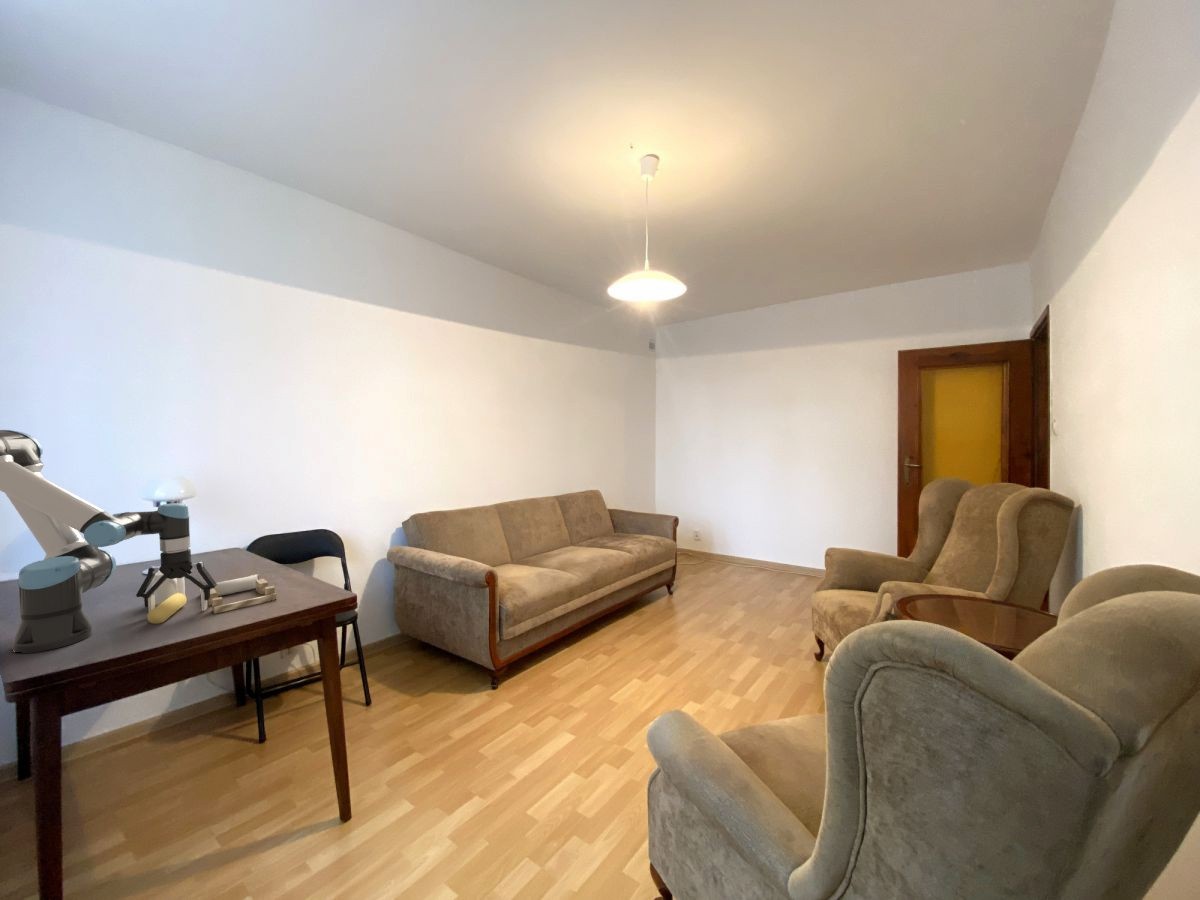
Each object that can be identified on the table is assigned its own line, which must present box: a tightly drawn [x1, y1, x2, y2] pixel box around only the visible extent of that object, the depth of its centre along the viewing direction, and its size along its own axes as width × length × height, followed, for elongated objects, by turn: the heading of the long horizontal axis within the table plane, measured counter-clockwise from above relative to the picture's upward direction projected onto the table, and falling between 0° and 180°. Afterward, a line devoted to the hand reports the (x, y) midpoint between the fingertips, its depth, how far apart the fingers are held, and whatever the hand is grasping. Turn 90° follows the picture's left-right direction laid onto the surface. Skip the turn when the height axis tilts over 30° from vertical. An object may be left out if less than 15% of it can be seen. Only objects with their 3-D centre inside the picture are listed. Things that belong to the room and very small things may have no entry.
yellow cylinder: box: [146, 593, 188, 625], centre depth 157 cm, size 15×5×5 cm
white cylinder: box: [214, 574, 258, 597], centre depth 178 cm, size 15×5×5 cm, turn 138°
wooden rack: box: [199, 573, 278, 615], centre depth 173 cm, size 18×27×4 cm, turn 48°
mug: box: [151, 571, 186, 606], centre depth 168 cm, size 9×12×11 cm
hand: (179, 613), depth 158 cm, fingers open, 13 cm apart
